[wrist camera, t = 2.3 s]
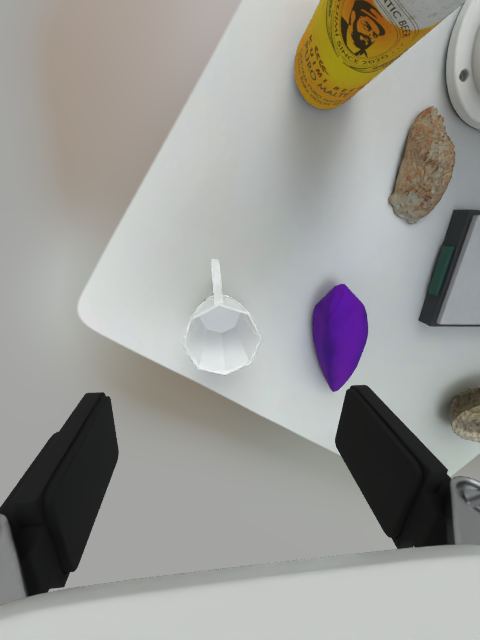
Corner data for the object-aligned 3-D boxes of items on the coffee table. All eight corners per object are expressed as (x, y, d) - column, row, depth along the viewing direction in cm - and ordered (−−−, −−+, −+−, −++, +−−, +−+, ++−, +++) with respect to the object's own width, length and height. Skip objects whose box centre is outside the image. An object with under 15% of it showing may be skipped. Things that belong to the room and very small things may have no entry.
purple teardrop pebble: (323, 408, 32) (328, 296, 25) (310, 381, 36) (310, 279, 29) (361, 401, 32) (376, 288, 25) (343, 375, 37) (351, 273, 30)
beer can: (278, 82, 23) (379, -121, 9) (320, 4, 21) (522, -389, 7) (329, 128, 25) (482, 16, 11) (372, 58, 23) (617, -179, 9)
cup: (192, 341, 31) (187, 380, 24) (181, 256, 28) (169, 271, 20) (251, 335, 32) (263, 372, 24) (247, 251, 28) (260, 264, 21)
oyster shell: (437, 114, 26) (403, 108, 25) (481, 99, 23) (445, 91, 21) (414, 223, 30) (383, 224, 28) (449, 223, 27) (417, 225, 25)
